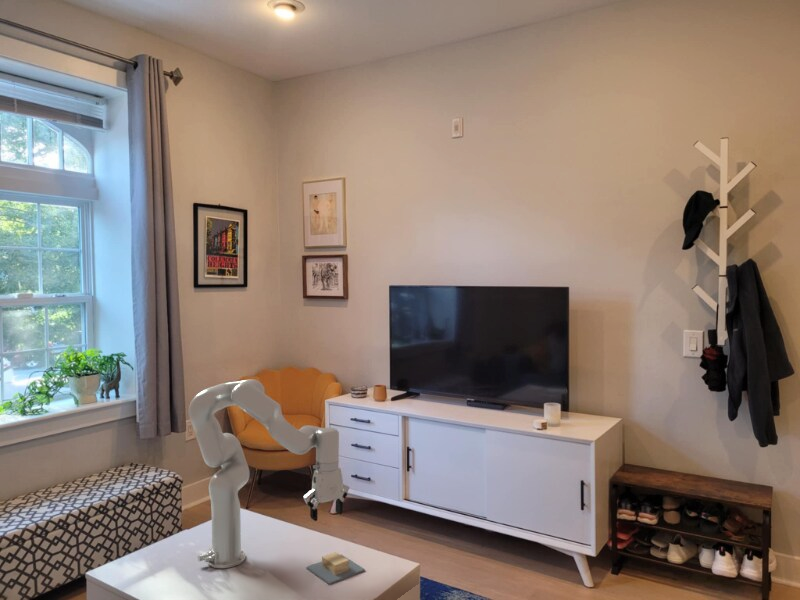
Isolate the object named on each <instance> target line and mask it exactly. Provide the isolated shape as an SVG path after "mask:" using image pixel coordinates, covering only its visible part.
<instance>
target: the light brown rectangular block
mask: <svg viewBox="0 0 800 600" xmlns="http://www.w3.org/2000/svg"><path fill="white" fill-rule="evenodd" d="M342 555H343V554H342ZM342 555H341V554H340V553H338V552H337V551H334V552H332V553H329V554H326V555H323V556H321V561H322V566H323V567H324V568H325V569H327V570H328V571H330V572H331V573H333V574H334V575H337V574H340V573H342V572H345V571H347V570H349V560H350V559H349V558H348V559H349V560H348V559H346V558H347V557H346V556H345V557H346V558H345V557H343V556H344V555H343V556H342Z"/></svg>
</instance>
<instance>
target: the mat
mask: <svg viewBox="0 0 800 600" xmlns="http://www.w3.org/2000/svg"><path fill="white" fill-rule="evenodd" d="M340 555H342V556H343V557H345V558H346V559H348V560H349V570H347V571H345V572H342V573H340V574H337V575H334V574H333V573H331V572H330V571H328V570H327V569H325V568H324V567H323V566H322V560H321V561H318V562H316V563H313V564H311V565H307V566H306V567H305V568H306V570H308V571H309V572H311V573H312V574H313V575H314V576H316V577H317V578H318V579H320V580H321V581H323V582H324V583H325V584H327V585H329V586H330V585H334V584H335V583H338V582H340V581H343V580H346V579H348V578H351V577H353V576H356V575H358V574H360V573H363V572H366V569H365V568H364V567H362V566H361V565H359V564H357V563H356V562H355V561H352V560H351V559H349V558H348V557H346V556H345V555H343V554H340Z"/></svg>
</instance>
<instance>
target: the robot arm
mask: <svg viewBox="0 0 800 600" xmlns="http://www.w3.org/2000/svg"><path fill="white" fill-rule="evenodd" d="M265 391H266V390H265V386H264V384H262V383H261V381H259V380H257V379H252V378H250V379H244V380H239V381H231V382H223V383H220V384H216V385H214V386H210V387H207V388H205V389H203V390H202V391H199V393H197V394H196V395H195V396H194V397H193V398H192V400H191V401H190V403H189V407H188V417H189V418H188V419H189V420H190V424H191V426H192V429H193V431H194V433H195V437H196V441H197V443H198V447H199V450H200V453H201V456H202V459H203V462H204V463H205V464H206V466H208V467H210V468H218V467H221V468H220V469H219V470H217V472H215V473H214V474H213V476H211V478H210V480H209V484H208V493H209V494H208V495H209V499H210V505H211V506H210V510H211V511H210V512H211V547H210V548H209V549H208V551H207V552H206V553H205V554H199V555H197V561H198V562H203V561H204V563H207V564H208V566H209V567H211V568H215V569H229V568H233V567H236V566H238V565H240V564H242V563H244V562H245V560H246V552H245V551H244V550H242V540H241V539H242V534H241V531H242V530H241V529H242V527H241V526H242V525H241V503H240V498H239V495H238V494H239V491H240V490H241V489H242V488H243V487H244V486H245V485H246V484H247V482H248V481H249V479H250V468H249V465H248V461H247V460H246V456H245V452H244V450H243V448H242V447H243V446H242V445H241V443H240V440H239V439H238V437H236V436H235V435H234V434H232V433H229V432H223V430H222V426H221V425H220V422H219V420H218V419H217V417H216V416H215V413H216V412H218V411H221V410H223V409H225V408H227V407H231V406H232V407H233V406H237V407H238V408H239V409H240V410H242V411H243V412H245V413H246V414H247V415H249V416H250V417H252V418H253V419H255V420H256V421H258V422H259V423H260V424H262V425H263V426H264V427H265V429H266V431H267V432H268V433H269V435H270V436H271V437H272V438H273V440H274V441H275V442H276V443H278V444H279V445H280V446H282V447H283V448H284V449H286V451H287V450H288V451H289V452H290V453H293V454H295V455H301V456H302V455H305V454H306V453H308V452H309V451H310V450H311V449H313V448H315V464H313V465H312V469H313V470H314V471H313V474H312V475H313V476H312V481H311V490H309V491H308V492H307V493H305V494H304V495H303V497H302V498H303V500H304V502H305V504H306V505H307V506H308V507H309V508H310V512H309V515H310V516H309V517H310V519H311V520H313V521H315V522H316V521H318V511H319V509H318V508H317V507H318V505H319V504H323V503H327V502H332V501H335V512H336V513H337V514H339V515H343V510H344V509H343V505H344V502H345V499H346V497H347V496H348V493H349V490H350V486H349V485H346V484H344V483H343V482H344V481H343V474H342V469H341V468H340V467H339V460H340V459H339V458H340V457H339V456H340V453H339V450H340V449H339V448H340V433H339V431H338V429H336V428H335V427H319V426H314V425H303V426H302V427H301V428H299V429H298V428H296V426H294V425H292V424H290V422H289V421H287V420H286V418H285V417H284V415H283V412H282V407H281V404H280V403H279V402H278V401H275V400H274V399H273V398H271V397H270V396H268V395H267V394H266V393H265ZM310 498H311V500H310Z"/></svg>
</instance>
